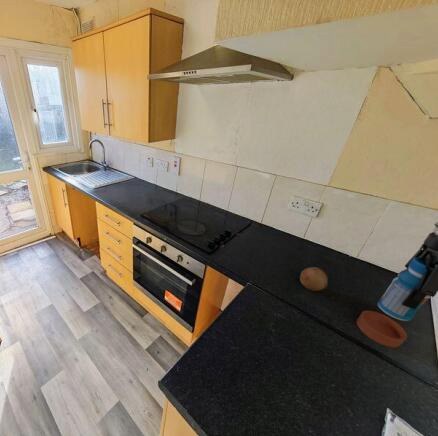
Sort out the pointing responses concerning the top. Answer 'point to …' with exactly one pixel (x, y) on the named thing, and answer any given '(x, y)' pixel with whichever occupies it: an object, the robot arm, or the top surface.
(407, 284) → the beverage bottle
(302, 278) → the onion
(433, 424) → the top surface
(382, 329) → the bottle stand
